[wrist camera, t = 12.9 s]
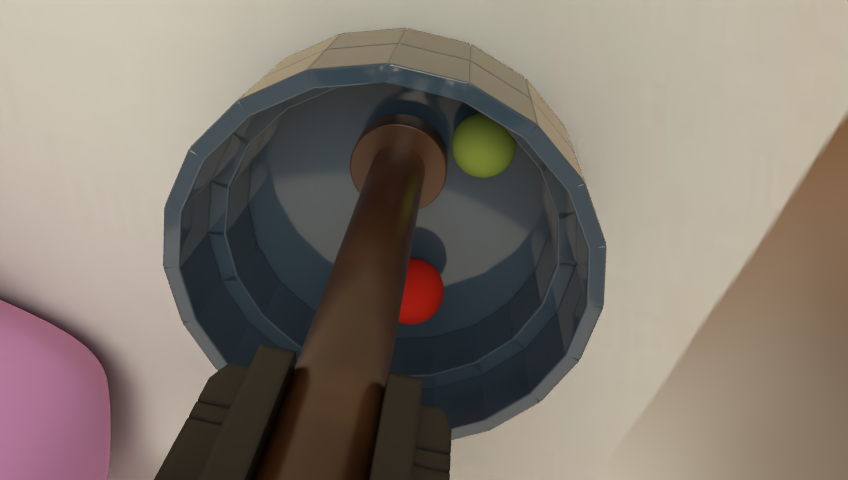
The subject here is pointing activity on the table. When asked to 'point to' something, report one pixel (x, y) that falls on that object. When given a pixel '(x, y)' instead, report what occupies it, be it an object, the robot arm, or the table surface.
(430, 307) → the cherry tomato
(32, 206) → the table surface
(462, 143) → the grape
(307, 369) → the brown wooden pestle
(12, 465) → the teapot
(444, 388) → the bowl
